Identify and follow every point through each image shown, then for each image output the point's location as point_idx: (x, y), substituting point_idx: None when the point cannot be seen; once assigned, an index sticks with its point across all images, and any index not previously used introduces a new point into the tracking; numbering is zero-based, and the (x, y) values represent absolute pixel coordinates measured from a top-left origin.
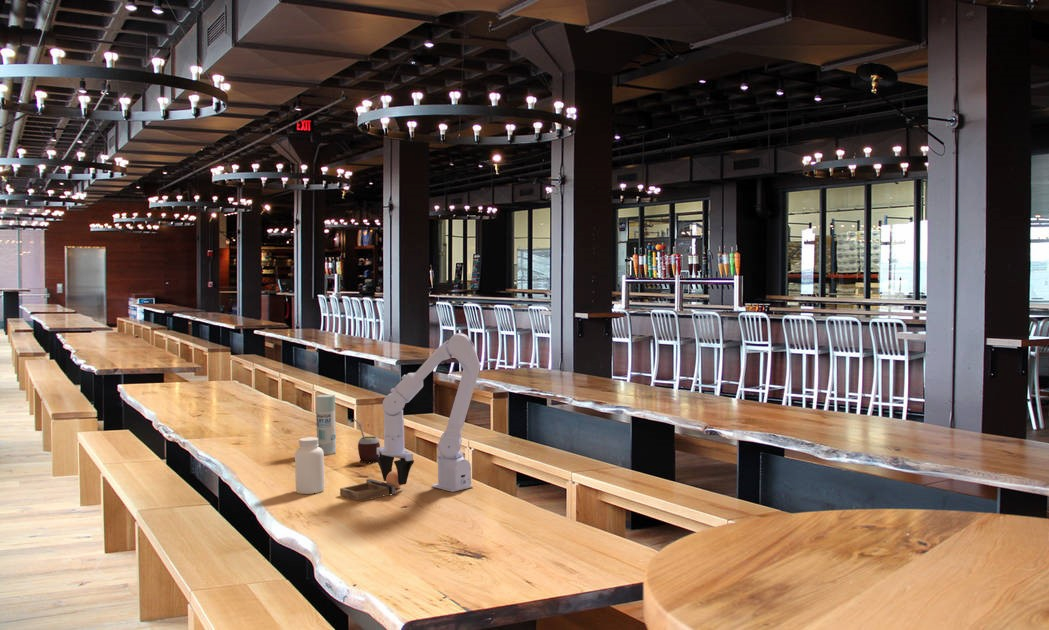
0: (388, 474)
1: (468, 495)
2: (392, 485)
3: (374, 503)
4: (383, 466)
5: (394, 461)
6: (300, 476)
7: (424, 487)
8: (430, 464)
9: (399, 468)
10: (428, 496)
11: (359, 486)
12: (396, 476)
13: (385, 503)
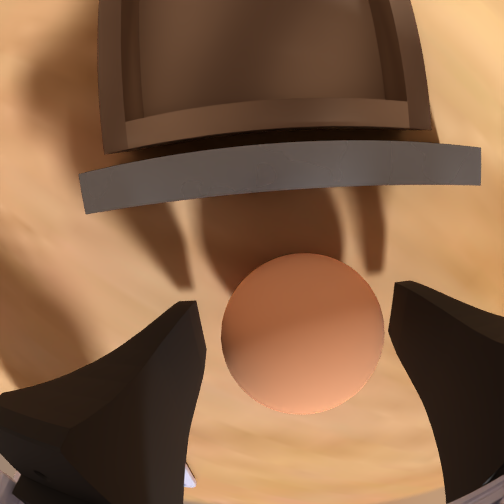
0: (334, 309)
1: None
2: (94, 190)
3: (40, 7)
4: (469, 348)
5: (49, 440)
6: None
7: None
8: None
9: (61, 378)
10: (12, 310)
11: (387, 17)
12: (233, 340)
13: (4, 61)
